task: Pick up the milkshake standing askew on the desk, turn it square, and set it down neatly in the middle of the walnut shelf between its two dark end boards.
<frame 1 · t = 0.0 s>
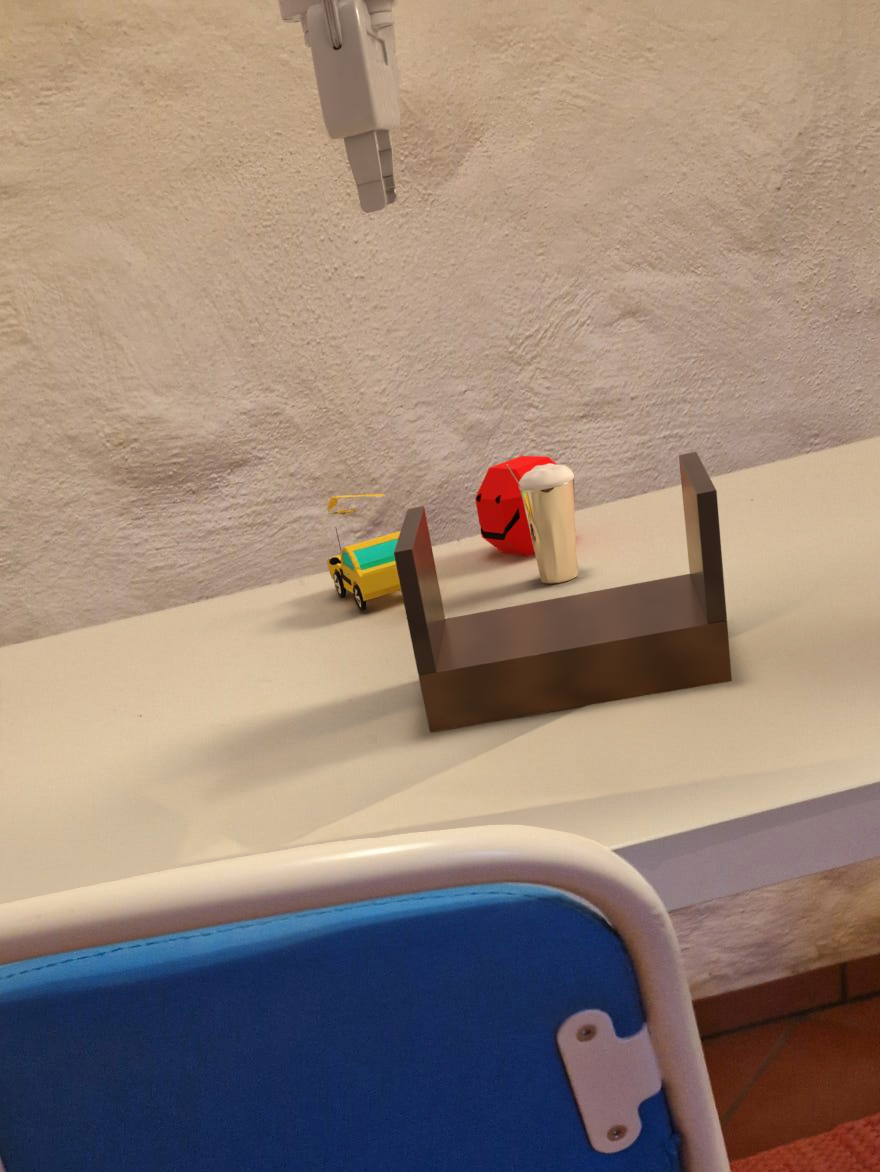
hand: (381, 207, 103), 30 cm above the table, tool pointing down, fingers open, 8 cm apart
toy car: (379, 596, 127), on the table
ball: (532, 550, 130), on the table
milkshake: (555, 581, 119), on the table
shelf: (575, 677, 97), on the table
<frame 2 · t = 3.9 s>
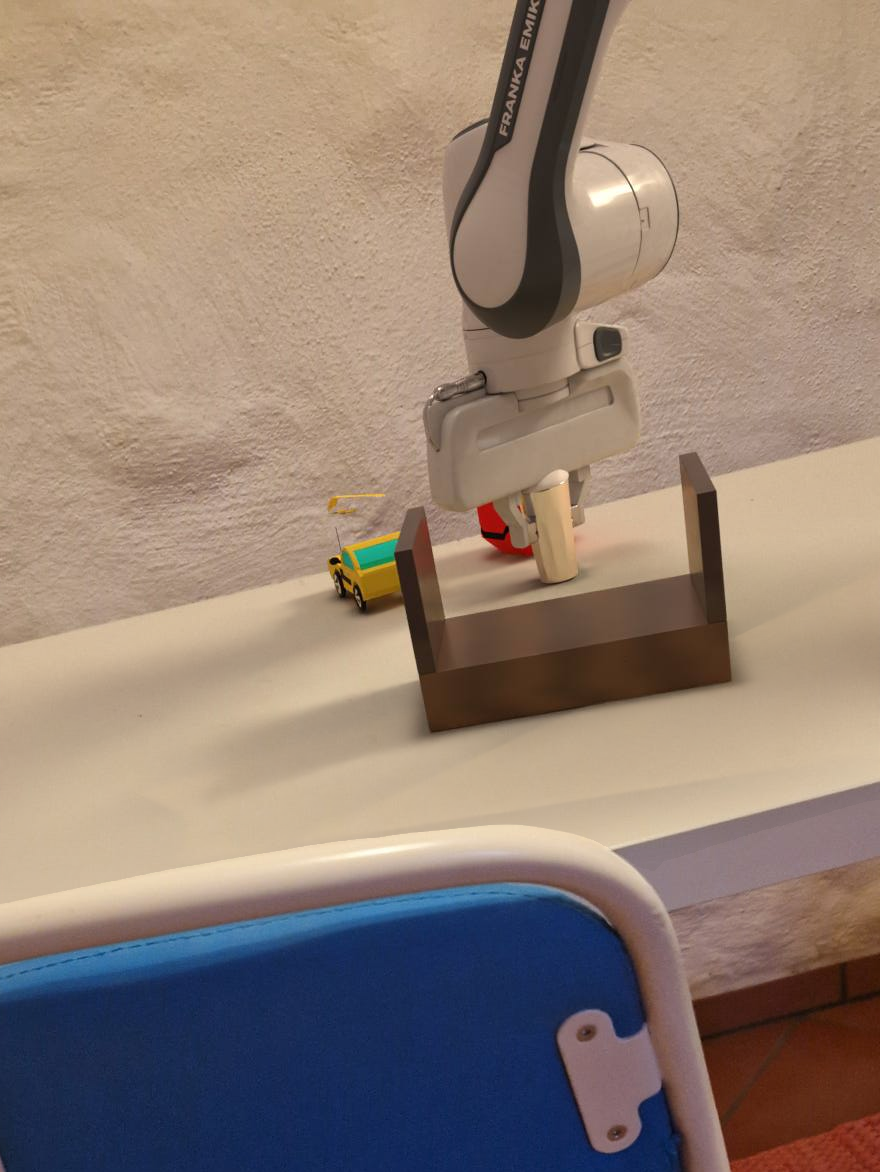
hand: (549, 535, 117), 4 cm above the table, tool pointing down, fingers closed on milkshake, 4 cm apart
milkshake: (555, 580, 119), on the table, touching gripper
everything else where it was.
when the fingers open (8 cm above the table, at t = 11.5 s): milkshake stays where it is, resting on shelf.
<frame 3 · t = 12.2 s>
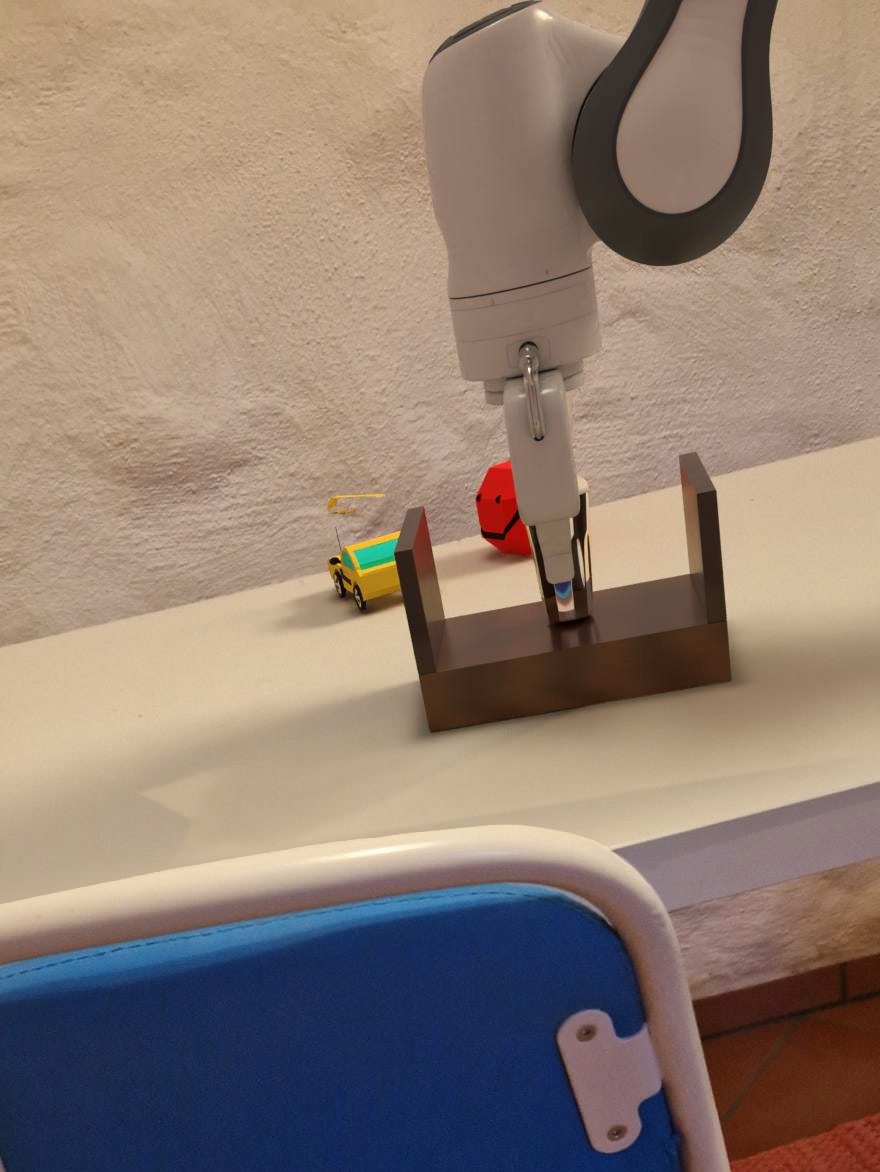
hand: (559, 560, 93), 8 cm above the table, tool pointing down, fingers open, 8 cm apart
milkshake: (567, 621, 95), point 4 cm above the table, touching shelf
everything else where it was.
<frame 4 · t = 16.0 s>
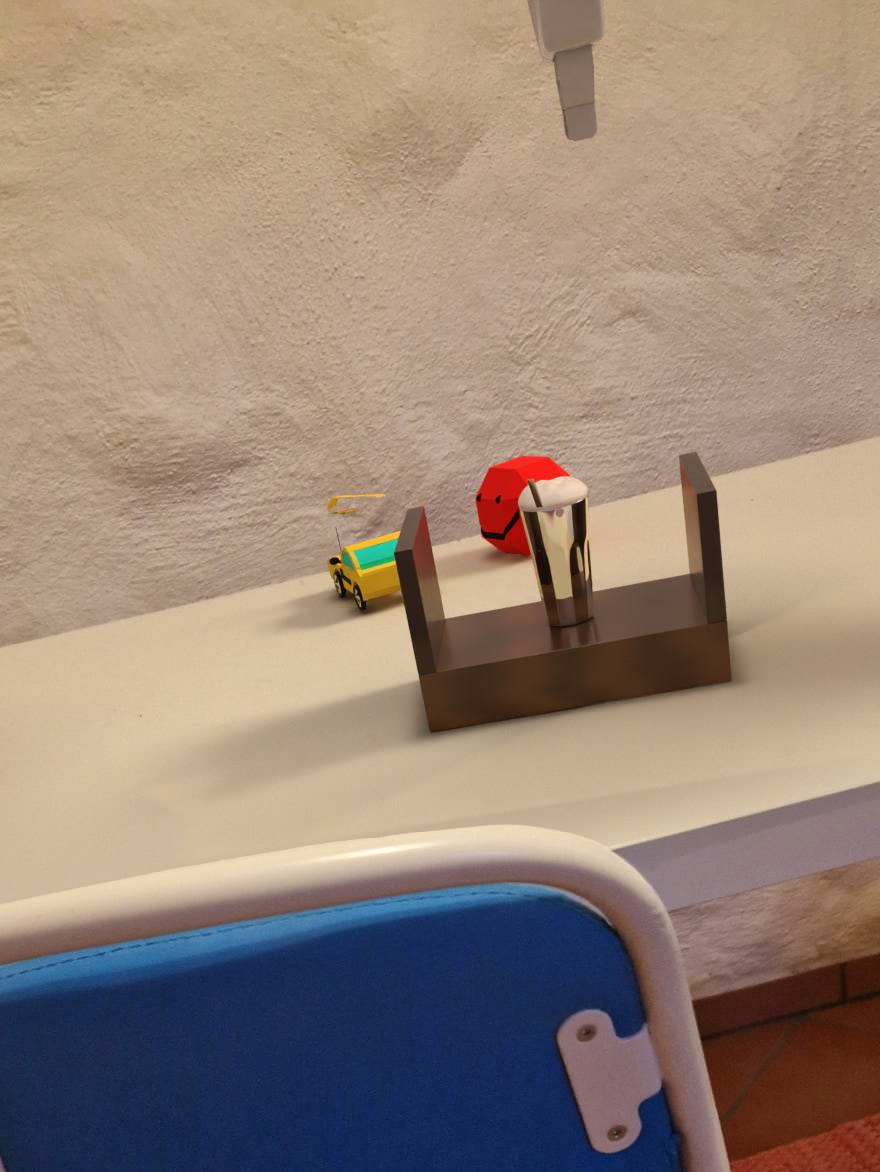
hand: (581, 139, 91), 31 cm above the table, tool pointing down, fingers open, 8 cm apart
at the end: milkshake inside the target area on the shelf (0.1 cm from its centre), point 3.8 cm above the shelf's base; milkshake tilted 0°; the gripper is holding nothing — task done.
